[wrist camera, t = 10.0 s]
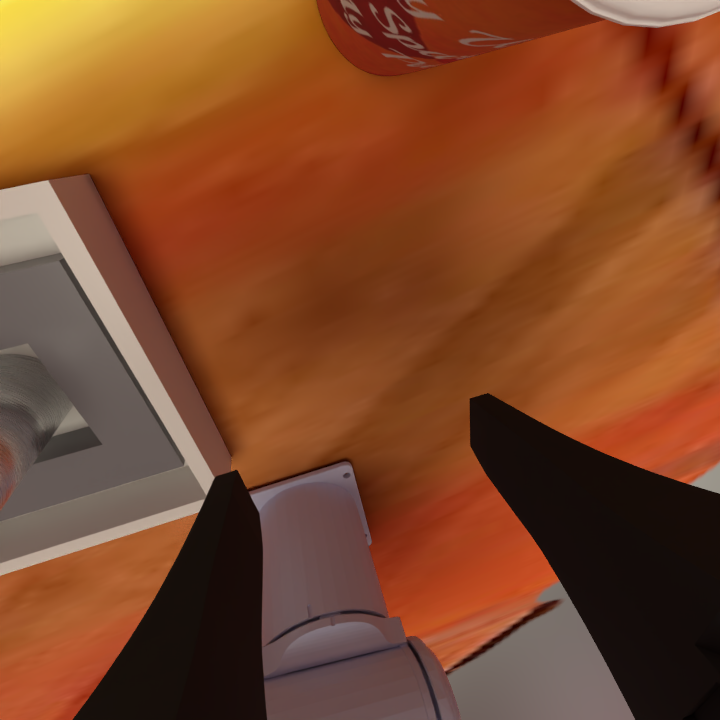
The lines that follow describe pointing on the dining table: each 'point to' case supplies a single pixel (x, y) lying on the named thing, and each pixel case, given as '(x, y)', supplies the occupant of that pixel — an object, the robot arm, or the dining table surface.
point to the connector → (26, 416)
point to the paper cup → (475, 26)
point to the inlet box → (95, 381)
